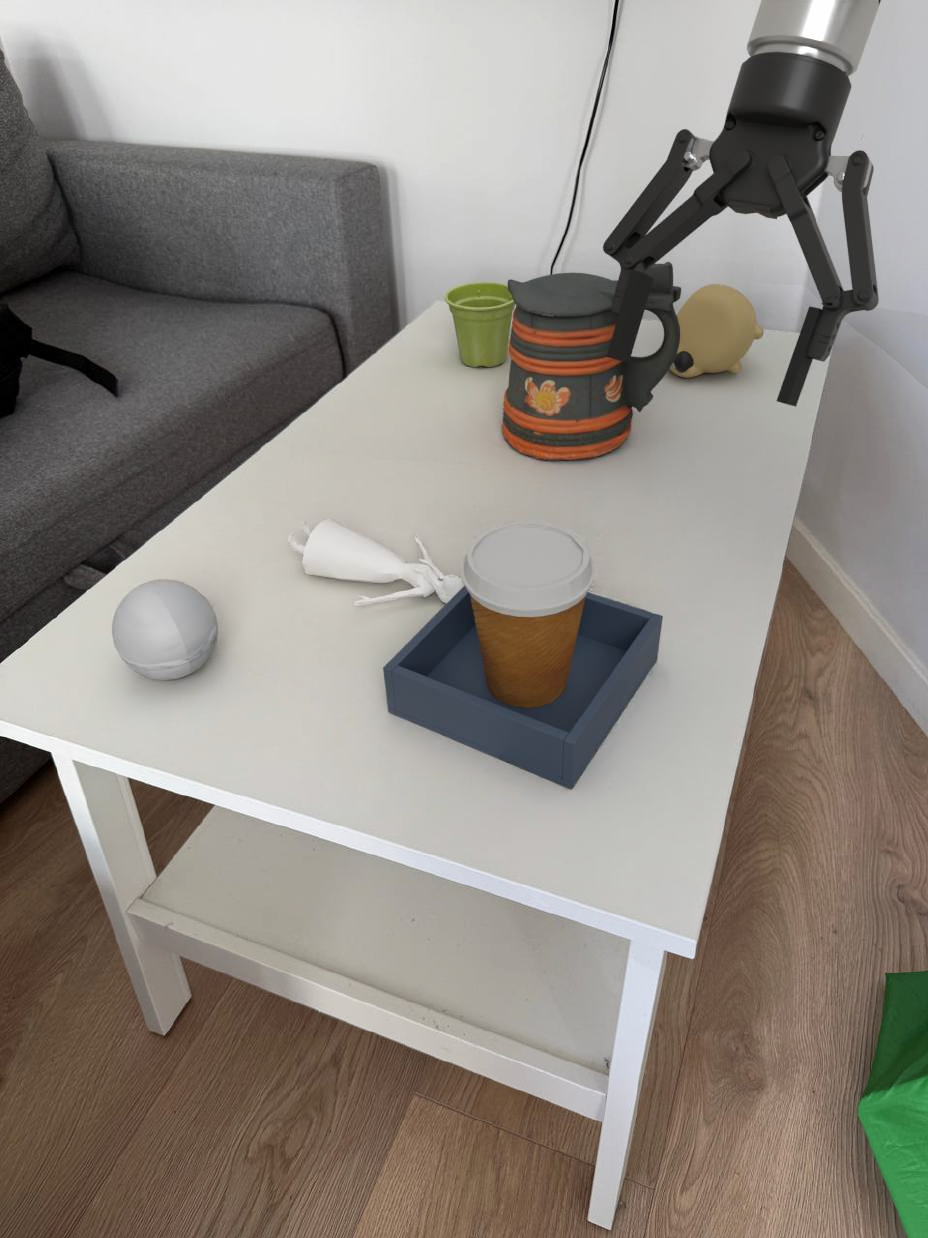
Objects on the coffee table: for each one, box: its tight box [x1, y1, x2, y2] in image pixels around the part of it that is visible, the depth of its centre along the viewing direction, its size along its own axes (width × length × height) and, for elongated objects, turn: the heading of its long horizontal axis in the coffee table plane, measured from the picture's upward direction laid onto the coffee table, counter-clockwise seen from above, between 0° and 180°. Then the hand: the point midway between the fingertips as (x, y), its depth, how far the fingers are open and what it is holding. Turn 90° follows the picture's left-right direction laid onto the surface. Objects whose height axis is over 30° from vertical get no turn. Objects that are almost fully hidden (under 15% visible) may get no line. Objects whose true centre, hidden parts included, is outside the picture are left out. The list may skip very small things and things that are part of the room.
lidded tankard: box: [501, 261, 682, 462], centre depth 98 cm, size 19×15×20 cm
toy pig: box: [669, 283, 765, 379], centre depth 114 cm, size 10×12×11 cm
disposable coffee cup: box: [460, 520, 596, 708], centre depth 68 cm, size 10×10×12 cm
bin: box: [382, 585, 664, 790], centre depth 70 cm, size 16×16×5 cm
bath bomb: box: [111, 578, 219, 681], centre depth 73 cm, size 8×8×8 cm
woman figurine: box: [288, 518, 464, 608], centre depth 82 cm, size 12×4×18 cm
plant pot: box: [444, 281, 516, 368], centre depth 119 cm, size 9×9×9 cm
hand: (697, 381), depth 68 cm, fingers open, 13 cm apart
